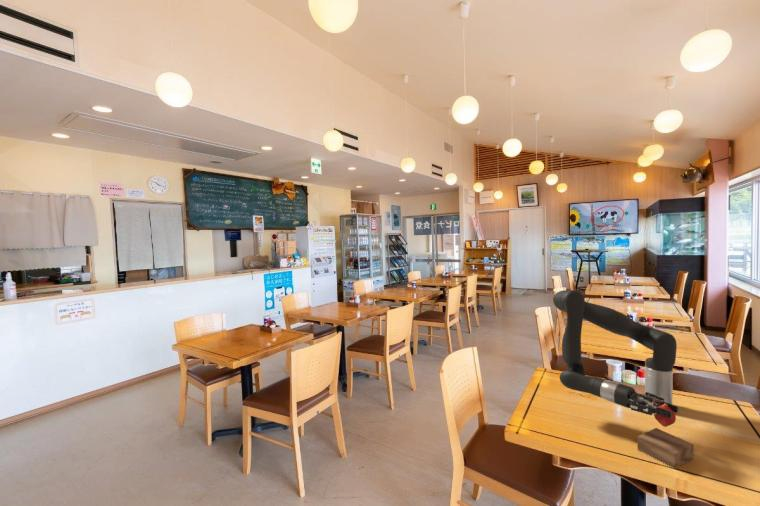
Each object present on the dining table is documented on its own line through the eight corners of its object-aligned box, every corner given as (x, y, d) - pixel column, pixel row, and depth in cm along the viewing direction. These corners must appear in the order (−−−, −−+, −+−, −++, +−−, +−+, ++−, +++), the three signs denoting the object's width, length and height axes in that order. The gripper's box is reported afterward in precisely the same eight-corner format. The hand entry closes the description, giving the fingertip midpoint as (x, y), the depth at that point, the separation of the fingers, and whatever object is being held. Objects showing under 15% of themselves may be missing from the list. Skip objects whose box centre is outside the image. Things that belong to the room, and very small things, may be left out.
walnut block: (655, 441, 127) (656, 427, 127) (693, 458, 117) (693, 444, 117) (637, 450, 123) (637, 436, 122) (674, 468, 113) (674, 453, 112)
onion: (648, 422, 122) (649, 399, 121) (664, 421, 122) (665, 398, 122) (663, 431, 116) (664, 408, 116) (679, 430, 117) (680, 407, 116)
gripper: (608, 388, 126) (667, 408, 112) (626, 378, 135) (682, 395, 121) (608, 408, 127) (666, 430, 113) (625, 397, 135) (681, 416, 121)
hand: (674, 412), depth 117 cm, fingers closed on onion, 5 cm apart
